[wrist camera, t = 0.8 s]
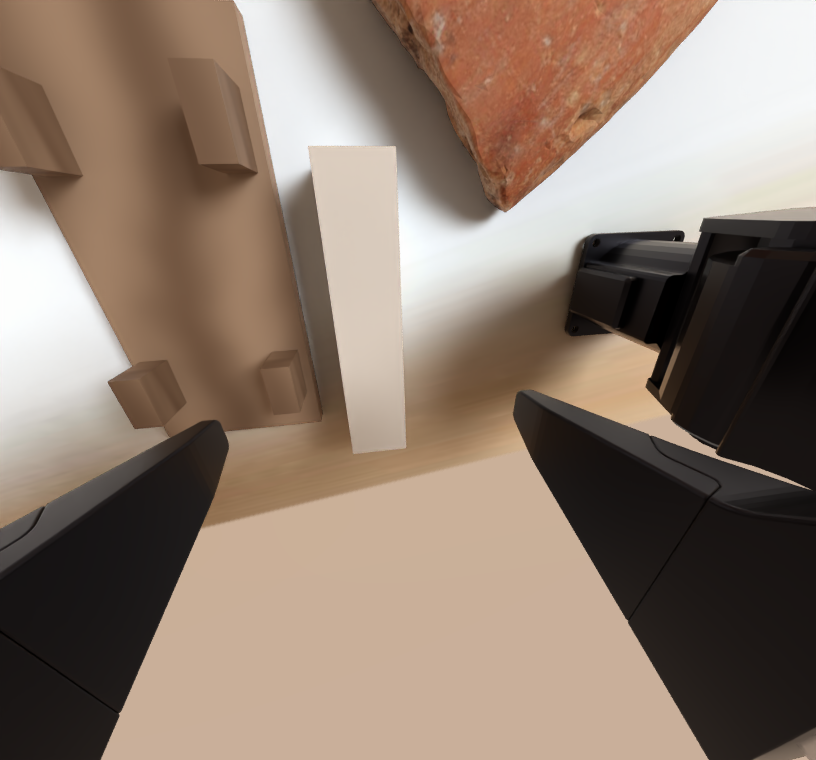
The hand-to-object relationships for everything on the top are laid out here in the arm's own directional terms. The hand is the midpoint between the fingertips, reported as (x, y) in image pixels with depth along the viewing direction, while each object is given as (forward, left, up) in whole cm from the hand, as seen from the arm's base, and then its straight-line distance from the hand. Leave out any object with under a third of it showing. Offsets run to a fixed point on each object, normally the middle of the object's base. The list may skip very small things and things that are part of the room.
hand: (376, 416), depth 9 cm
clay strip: (0, 0, -12) cm, 12 cm away
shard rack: (+9, -3, -11) cm, 15 cm away
